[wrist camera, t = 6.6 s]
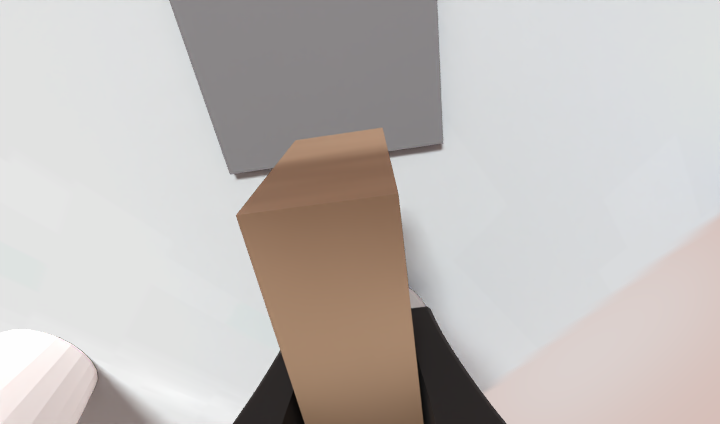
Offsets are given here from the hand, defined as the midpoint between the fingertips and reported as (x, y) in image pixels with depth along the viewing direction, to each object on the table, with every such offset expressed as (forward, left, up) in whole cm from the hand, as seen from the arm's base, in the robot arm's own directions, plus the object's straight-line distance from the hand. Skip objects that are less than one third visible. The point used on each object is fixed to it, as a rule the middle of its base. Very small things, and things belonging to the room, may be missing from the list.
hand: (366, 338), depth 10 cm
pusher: (0, 0, -2) cm, 2 cm away
